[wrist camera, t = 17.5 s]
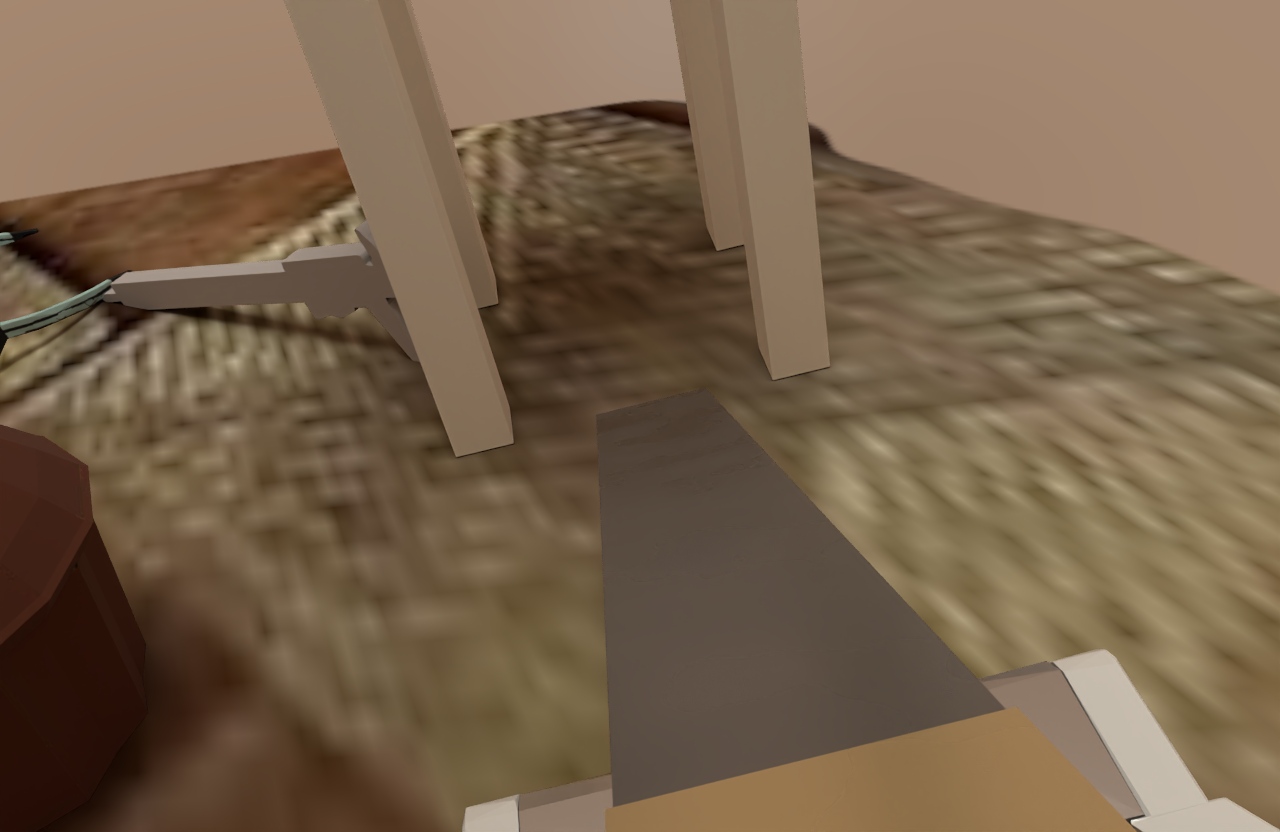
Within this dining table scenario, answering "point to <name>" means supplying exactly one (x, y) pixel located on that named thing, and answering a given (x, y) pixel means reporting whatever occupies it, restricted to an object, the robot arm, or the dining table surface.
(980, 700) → the pin
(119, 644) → the muffin
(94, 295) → the sunglasses
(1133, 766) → the robot arm
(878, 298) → the dining table surface
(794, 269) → the pin stand
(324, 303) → the caliper
